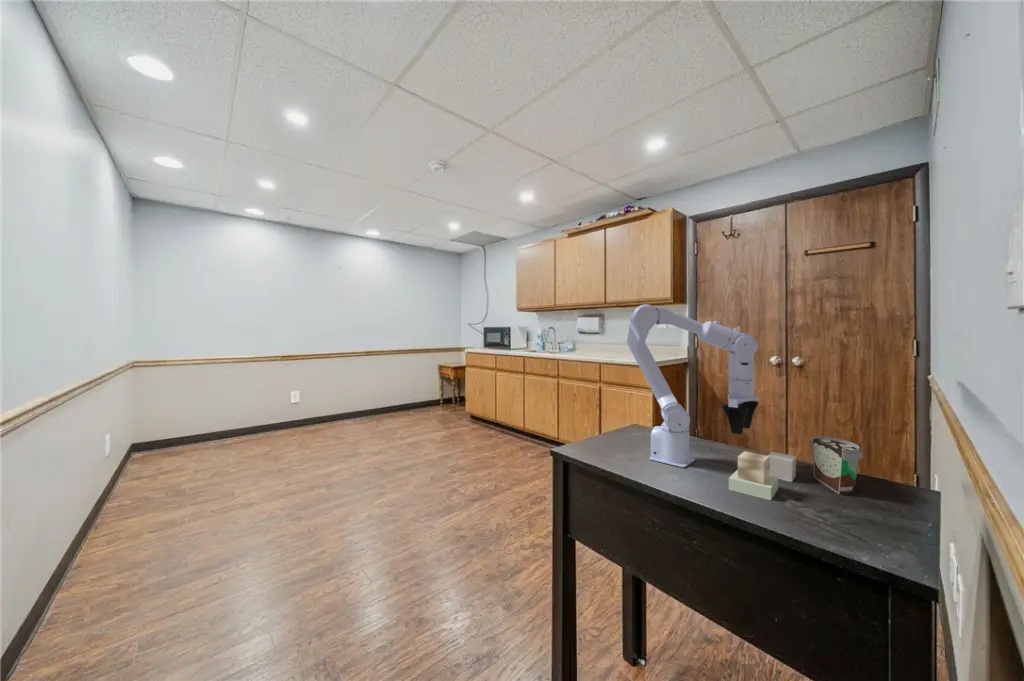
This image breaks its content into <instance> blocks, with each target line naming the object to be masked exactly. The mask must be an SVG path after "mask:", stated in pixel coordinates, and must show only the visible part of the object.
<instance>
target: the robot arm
mask: <svg viewBox="0 0 1024 681" xmlns="http://www.w3.org/2000/svg"><path fill="white" fill-rule="evenodd" d="M655 325H657V326H658V325H670V326H673V327H677V328H679V329H682V330H684V331H688V332H690V333H694V334H696V335H697V336H698V338H699V341H701V342H704V343H705V344H709V345H711V346H714V347H716V348H719V349H721V350H727V352H728V357H729V358H728V394H727V399H728V404H723V405H722V409H723V411H724V413H725V415H726V417H727V420H728V423H729V427H730V432H731V433H732V434H734V435H742V433H743V431H744V429H750V428H751V425H752V421H753V417H754V413H755V411H756V409H757V407H758V406H759V401H760V396H755V353H756V352H757V351H758V349H759V344H758V342H757V340H756V339H755V337H754V336H753V335H752V334H748V333H742V332H739V329H738V328H737V327H735V328H730V327H728V326H725V325H722V324H721V322H720V321H718V320H714V321H711V320H708V321H706V322H704V323H702V322H700V321H697V320H695V319H692V318H691V317H688V316H685V315H683V314H680V313H678V312H675V311H673V310H670V309H667V308H664V307H663V308H662V307H659V306H655V307H654V306H653V305H651V304H648V303H644V304H641V305H639V306H638V307H636V308H635V309H634V310H633V311H632V314H631V316H630V318H629V319H628V327H627V334H626V344H627V346H628V349H629V350H630V352H631V354H632V356H633V358H634V359H635V361H636V363H637V365H638V368H640V371H641V373H642V374H643V377H644V379H645V381H646V382H647V384H648V386H649V387H650V390H651V392H652V393H653V395H654V398H656V401H657V403H658V404H659V407H660V415H661V418H662V419H663V422H662V423H661V425H655V426H654V427H653V428H652V430H651V434H650V457H649V460H650V461H655V462H658V463H663V464H667V465H671V466H676V467H679V468H686V467H687V466H688V465H690V464H692V463H693V462H695V460H696V458H694V457H690V427H689V426H690V424H691V416H690V415H689V412H687V410H686V409H684V407H683V406H682V405H681V404H680V403H679V401H678V400H677V398H676V397H675V395H674V394H673V392H672V390H671V388H670V386H669V385H668V382H667V380H666V378H665V377H664V375H663V372H662V371H661V369H660V368H659V366H658V364H657V362H656V359H655V358H654V356H653V354H652V353H651V350H650V349H649V347H648V345H647V343H646V340H647V337H648V335H649V333H650V330H651V329H652V328H653V327H654V326H655Z"/></svg>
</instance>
